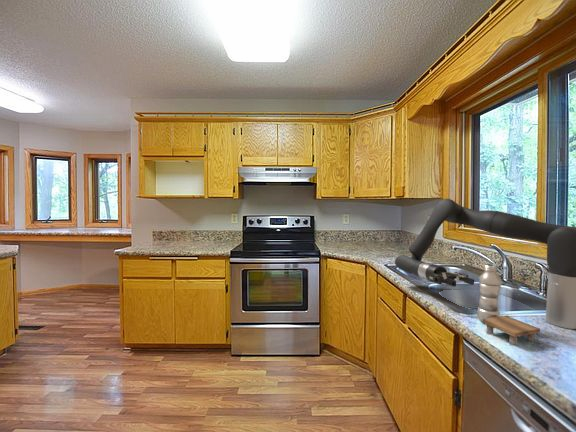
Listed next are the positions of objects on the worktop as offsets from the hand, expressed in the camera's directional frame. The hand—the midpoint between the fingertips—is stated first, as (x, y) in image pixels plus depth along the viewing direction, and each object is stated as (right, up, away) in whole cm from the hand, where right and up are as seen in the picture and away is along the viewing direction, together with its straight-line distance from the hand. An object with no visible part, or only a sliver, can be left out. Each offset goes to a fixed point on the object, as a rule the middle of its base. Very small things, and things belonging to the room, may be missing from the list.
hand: (464, 283), depth 109 cm
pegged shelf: (+2, -12, -19) cm, 23 cm away
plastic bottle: (+3, -12, -9) cm, 15 cm away
